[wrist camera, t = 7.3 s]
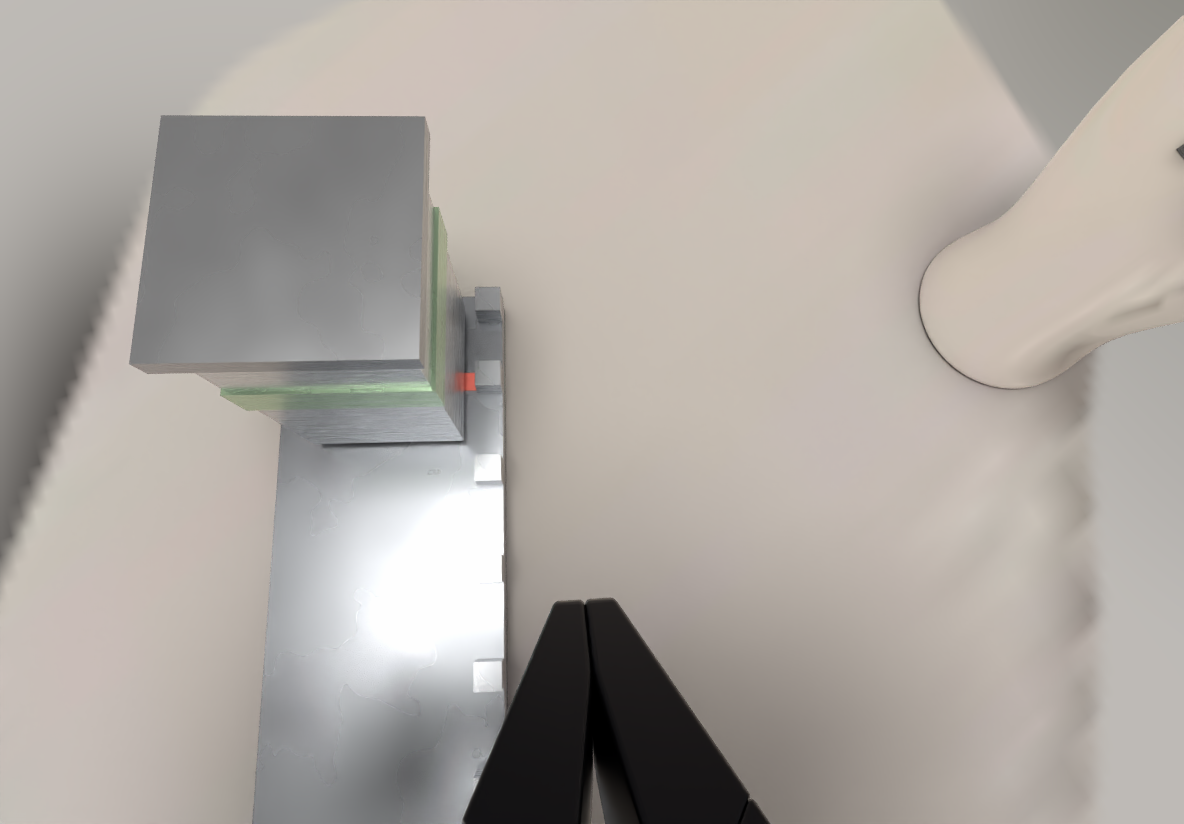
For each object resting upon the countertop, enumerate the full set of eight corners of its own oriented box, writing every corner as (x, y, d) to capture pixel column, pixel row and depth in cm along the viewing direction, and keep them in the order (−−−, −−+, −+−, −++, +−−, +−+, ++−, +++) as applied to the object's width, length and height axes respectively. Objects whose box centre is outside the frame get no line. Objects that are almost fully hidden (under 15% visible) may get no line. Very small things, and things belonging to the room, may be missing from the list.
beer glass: (1124, 363, 26) (1871, 72, 11) (962, 429, 25) (1546, 207, 10) (1030, 202, 27) (1582, -241, 13) (873, 259, 26) (1274, -148, 12)
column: (473, 451, 22) (419, 359, 13) (303, 455, 22) (129, 364, 13) (474, 296, 23) (425, 116, 14) (313, 298, 23) (161, 115, 14)
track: (509, 1132, 19) (498, 1271, 15) (246, 1154, 19) (165, 1303, 15) (504, 310, 25) (495, 258, 21) (302, 312, 24) (255, 261, 21)
